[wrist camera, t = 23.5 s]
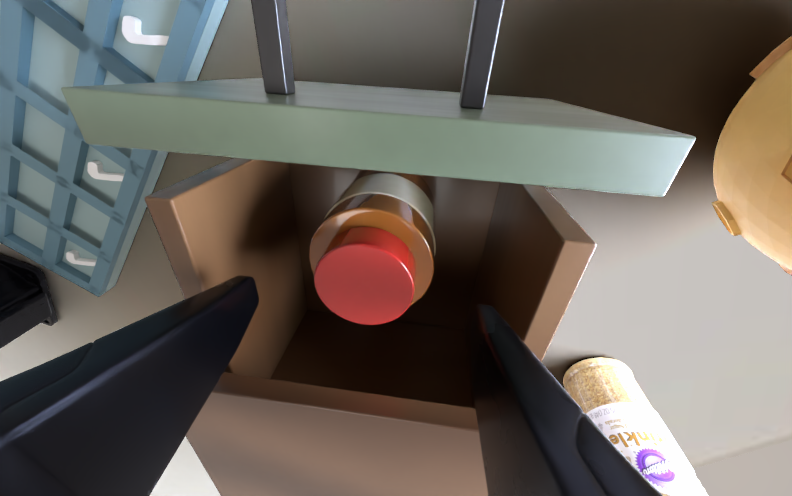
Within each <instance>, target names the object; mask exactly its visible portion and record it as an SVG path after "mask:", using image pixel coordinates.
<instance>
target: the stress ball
mask: <svg viewBox="0 0 792 496" xmlns="http://www.w3.org/2000/svg"><path fill="white" fill-rule="evenodd" d="M750 75H751V76H752V77H754V78H755V79H756V80H755V82H754V83H753V84H752V85H751V87H750V88H749V89H748V90H747V92H746V93H745V94H744V95H743V97H742V98H741V99H740V100H739V102H738V103H737V105H736V106H735V108H734V109H733V111H732V112H731V114H730V115H729V117H728V119H727V121H726V124H725V126H724V128H723V130H722V132H721V134H720V137H719V140H718V143H717V147H716V150H715V156H714V164H713V177H714V186H715V190H716V194H717V198H718V200H717V201H715V202H712V205H713V207H714V209H715V211H716V213H717V215H718V216H719V218H720V220H721V221H722V222H723V224H724V225H725V227H726V228H727V230H728V231H729V232H730V233H731V234H732V235H734V236H736V235H740V234H741V235H742V236H743V237H744V238H745V239H746V240H747V241H748V242H749V243H750V244H751V245H752V246H754V247H755V248H756V249H758V250H759V251H761V252H762V253H764V254H765V255H766V256H768V257H769V258H771V259H772V260H774V261H776V262H778V263H779V266H780V267H781V268H782V269H783V270H784V271H785V272H786V273H788V274H790V275H792V36H791V37H789V38H788V39H787V40H786V41H784V42H783V43H782V44H780V45H779V46H778V47H777V48H775V49H774V50H773V51H772V52H771V53H770V54H769V55H768V56H767V57H766V58H765V59H764V60H763V61H762V62H761V63H759V64H758V65H757V66H756V67H755V68H754V69H753V70H752V71H751V73H750Z"/></svg>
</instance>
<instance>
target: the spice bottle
mask: <svg viewBox="0 0 792 496" xmlns="http://www.w3.org/2000/svg"><path fill="white" fill-rule="evenodd" d="M435 252H436V217H435V202H434V197H433V194H432V192H431V189H430V188H429V186H428V184H427V183H426V182H425V180H424V179H423V178H422V177H421V176H420V175H417V174H406V173H395V172H384V171H373V170H364V171H362V172H361V173H360V174H359V175H358V176H357V177H356V178H355V179H354V180H353V182H352V183H351V184H350V185H349V186H348V187H347V188H346V189H345V190H344V192H343V193H342V194H341V196H340V197H339V198H338V199H337V201H336V202H335V203H334V205H333V206H332V207H331V209H330V210H329V211H328V213H327V214H326V216H325V218H324V220H323V222H322V223H321V224H320V226H319V227H318V229H317V230H316V231H315V233H314V235H313V237H312V240H311V243H310V249H309V260H310V265H311V269H312V272H313V274H314V284H315V289H316V291H317V294H318V296H319V298H320V299H321V301H322V302H323V303H324V304H325V306H326V307H327V308H328V309H329V310H331V311H332V312H333V313H335V314H336V315H338V316H339V317H341V318H343V319H345V320H348V321H350V322H354V323H357V324H363V325H379V324H384V323H388V322H391V321H393V320H395V319H397V318H398V317H400V316H401V315H402V314H403V313H405V312H406V310H407V309H408V308H409V306H411V305H412V304H414V303H415V302H417V301H418V300H419V299H420V298H421V297H422V296H423V295H424V294H425V292H426V291H427V289H428V288H429V286H430V284H431V282H432V279H433V275H434V257H435Z"/></svg>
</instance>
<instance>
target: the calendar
mask: <svg viewBox="0 0 792 496" xmlns="http://www.w3.org/2000/svg"><path fill="white" fill-rule="evenodd" d="M228 1H229V0H0V243H2V244H4V245H6V246H8V247H9V248H11V249H13V250H15V251H17V252H18V253H20V254H22V255H24V256H26V257H27V258H29V259H31V260H33V261H35V262H36V263H38V264H40V265H42V266H44V267H45V268H47V269H49V270H51V271H53V272H55V273H56V274H58V275H60V276H62V277H64V278H65V279H67V280H69V281H71V282H73V283H75V284H76V285H78V286H80V287H82V288H84V289H85V290H87V291H89V292H91V293H92V294H94V295H96V296H98V297H99V296H101V295H102V294H104V293H105V292H107V291H108V290H110V289H111V288H113V287H114V286H115V285H116V282H117V280H118V277H119V275H120V272H121V270H122V267H123V265H124V262H125V260H126V257H127V255H128V252H129V250H130V247H131V245H132V242H133V240H134V237H135V235H136V232H137V230H138V227H139V225H140V222H141V220H142V217H143V215H144V212H145V210H146V207H147V205H146V202H145V200H144V198H145V197H146V196H148V195H150V194H152V192H153V189H154V187H155V184H156V182H157V179H158V177H159V174H160V172H161V169H162V167H163V164H164V162H165V159H166V157H167V154H168V152H166V151H155V150H144V149H134V148H123V147H112V146H101V145H90V144H87V143H86V142H85V140H84V138H83V136H82V134H81V131H80V129H79V127H78V125H77V123H76V121H75V119H74V116H73V114H72V112H71V110H70V108H69V106H68V104H67V102H66V99H65V97H64V95H63V93H62V91H61V88H62V87H72V86H94V85H116V84H137V83H159V82H180V81H197V79H198V76H199V74H200V71H201V69H202V66H203V64H204V61H205V59H206V56H207V54H208V51H209V49H210V46H211V44H212V41H213V39H214V36H215V34H216V31H217V29H218V26H219V24H220V21H221V19H222V16H223V14H224V11H225V9H226V6H227V4H228Z"/></svg>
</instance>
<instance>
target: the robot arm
mask: <svg viewBox="0 0 792 496" xmlns="http://www.w3.org/2000/svg"><path fill="white" fill-rule="evenodd" d="M258 304H259V296H258V291H257V287H256V283H255V280H254V278H253V277H251V276H243V275H239V276H236V277H234V278H231V279H229V280H227V281H225V282H223V283H220V284H218V285H216V286H214V287H212V288H209V289H207V290H205V291H203V292H201V293H198V294H196V295H194V296H192V297H190V298H187V299H185V300H183V301H181V302H179V303H176V304H174V305H172V306H170V307H168V308H165V309H163V310H161V311H159V312H157V313H154V314H152V315H150V316H148V317H146V318H143V319H141V320H139V321H137V322H135V323H132V324H130V325H128V326H126V327H124V328H121V329H119V330H117V331H115V332H113V333H110V334H108V335H106V336H104V337H102V338H99V339H97V340H95V341H94V343H88V344H86V345H84V346H82V347H80V348H77V349H75V350H73V351H71V352H69V353H66V354H64V355H62V356H60V357H57V358H55V359H53V360H50V361H48V362H46V363H44V364H41V365H39V366H37V367H34V368H32V369H29V370H27V371H25V372H22V373H20V374H17V375H15V376H13V377H10V378H8V379H5V380H3V381H0V496H149V495H150V493H151V492H152V490H153V488H154V487H155V485H156V483H157V482H158V480H159V479H160V477H161V475H162V474H163V472H164V470H165V469H166V467H167V465H168V464H169V462H170V460H171V459H172V457H173V455H174V454H175V452H176V450H177V449H178V447H179V445H180V444H181V442H182V440H183V439H184V437H185V435H186V434H187V432H188V431H189V429H190V427H191V426H192V424H193V422H194V421H195V419H196V417H197V416H198V414H199V412H200V411H201V409H202V407H203V406H204V404H205V402H206V401H207V399H208V397H209V396H210V394H211V392H212V391H213V389H214V387H215V386H216V384H217V383H218V381H219V379H220V378H221V376H222V374H223V373H224V371H225V369H226V368H227V366H228V364H229V363H230V361H231V359H232V358H233V356H234V354H235V352H236V351H237V349H238V347H239V345H240V343H241V341H242V339H243V336H244V334H245V332H246V330H247V328H248V326H249V324H250V321H251V319H252V317H253V315H254V313H255V311H256V309H257V307H258ZM57 321H58V320H57V316H56V313H55V310H54V306H53V303H52V300H51V296H50V293H49V289H48V286H47V283H46V279H45V276H44V273H43V272H42V271H41V270H40V269H39V268H37V267H34V266H31V265H29V264H26V263H23V262H21V261H18V260H15V259H12V258H10V257H7V256H4V255H2V254H0V348H2V347H4V346H5V345H7V344H8V343H10V342H11V341H13V340H14V339H16V338H18V337H19V336H21V335H22V334H24V333H25V332H27V331H29V330H30V329H32V328H33V327H35V326H36V325H38V324H39V323H43V324H46V325H49V326H52V325H53V324H55V323H56V322H57ZM470 339H471V374H472V388H473V396H474V402H475V409H476V416H477V423H478V429H479V436H480V443H481V450H482V456H483V463H484V470H485V477H486V483H487V490H488V496H663V495H662V494H661V493H660V492H659V491H658V490H657V489H656V488H655V487H654V486H653V485H652V484H651V483H650V482H649V481H648V480H647V479H646V478H645V477H644V476H643V475H642V474H641V473H640V472H639V471H638V470H637V469H636V468H635V467H634V466H633V465H632V464H631V463H630V462H629V461H628V459H627V458H626V457H625V456H624V455H623V454H622V453H621V452H620V451H619V450H618V449H617V448H616V447H615V445H614V444H613V443H612V442H611V441H610V440H609V439H608V438H607V437H606V436H605V434H604V433H603V432H602V431H601V430H600V429H599V428H598V427H597V425H596V424H595V423H594V422H593V421H592V420H591V419H590V417H589V416H588V415H587V414H586V413H583V410H582V408H581V407H580V406H579V405H578V404H577V403H576V402H575V400H574V399H573V398H572V397H571V396H570V395H569V394H568V392H567V391H566V390H565V389H564V388H563V387H562V385H561V384H560V383H559V382H558V381H557V380H556V379H555V377H554V376H553V375H552V374H551V373H550V372H549V371H548V369H547V368H546V367H545V366H544V365H543V364H542V363H541V361H540V360H539V359H538V358H537V357H536V356H535V354H534V353H533V352H532V351H531V350H530V349H529V348H528V346H527V345H526V344H525V343H524V342H523V341H522V340H521V338H520V337H519V336H518V335H517V334H516V333H515V332H514V330H513V329H512V328H511V327H510V326H509V325H508V323H507V322H506V321H505V320H504V319H503V318H502V317H501V315H500V314H499V313H498V312H497V311H496V310H495V309H494V307H492V306H490V305H482V304H478V305H477V306H476V308H475V312H474V316H473V319H472V323H471V329H470Z"/></svg>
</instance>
